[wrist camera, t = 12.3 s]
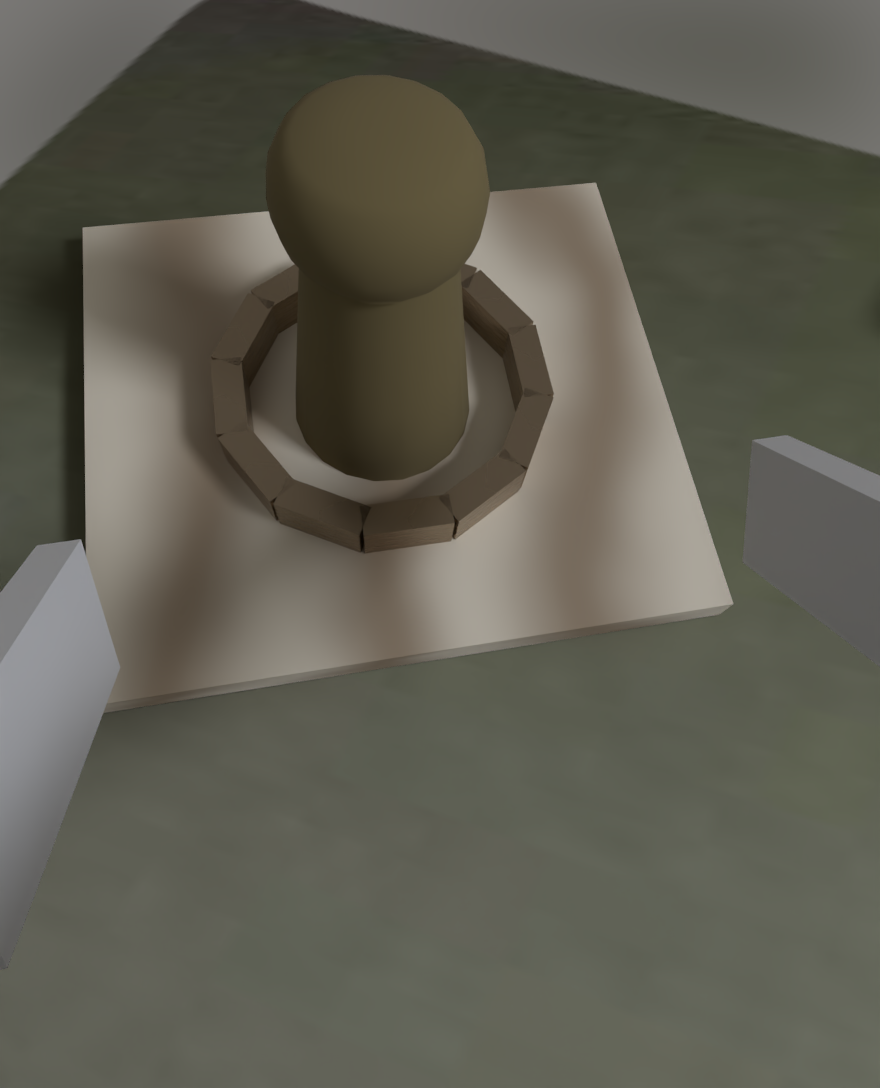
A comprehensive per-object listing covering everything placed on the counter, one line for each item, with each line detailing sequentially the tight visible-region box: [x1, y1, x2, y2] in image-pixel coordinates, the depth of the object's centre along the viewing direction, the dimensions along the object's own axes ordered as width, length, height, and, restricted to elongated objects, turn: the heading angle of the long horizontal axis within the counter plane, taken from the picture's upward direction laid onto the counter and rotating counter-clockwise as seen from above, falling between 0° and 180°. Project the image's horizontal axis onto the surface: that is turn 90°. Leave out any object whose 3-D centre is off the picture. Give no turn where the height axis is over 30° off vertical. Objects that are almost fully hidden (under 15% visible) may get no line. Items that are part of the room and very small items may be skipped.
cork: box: [266, 75, 490, 481], centre depth 21 cm, size 6×6×11 cm
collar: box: [210, 264, 554, 553], centre depth 26 cm, size 11×11×2 cm
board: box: [83, 183, 733, 713], centre depth 27 cm, size 20×18×1 cm
